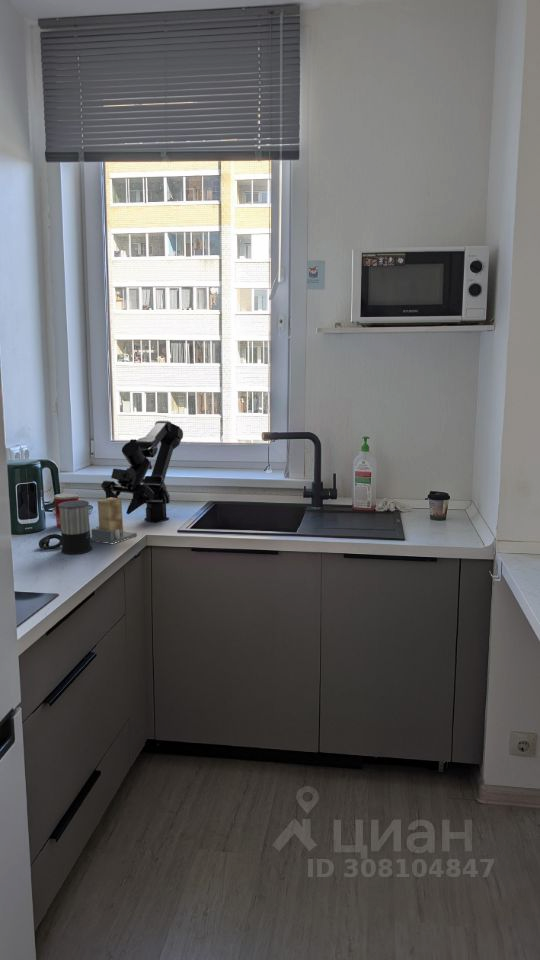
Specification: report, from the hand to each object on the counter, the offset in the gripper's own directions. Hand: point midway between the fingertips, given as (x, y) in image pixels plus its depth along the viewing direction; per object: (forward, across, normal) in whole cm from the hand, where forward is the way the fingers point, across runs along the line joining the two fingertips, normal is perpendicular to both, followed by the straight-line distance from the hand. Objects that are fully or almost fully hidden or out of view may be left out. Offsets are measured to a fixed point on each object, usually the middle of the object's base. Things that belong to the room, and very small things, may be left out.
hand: (116, 512), depth 242 cm
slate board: (+7, 0, +4) cm, 9 cm away
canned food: (+4, -26, +8) cm, 27 cm away
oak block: (+7, 0, +3) cm, 8 cm away
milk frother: (+19, -4, -8) cm, 21 cm away
